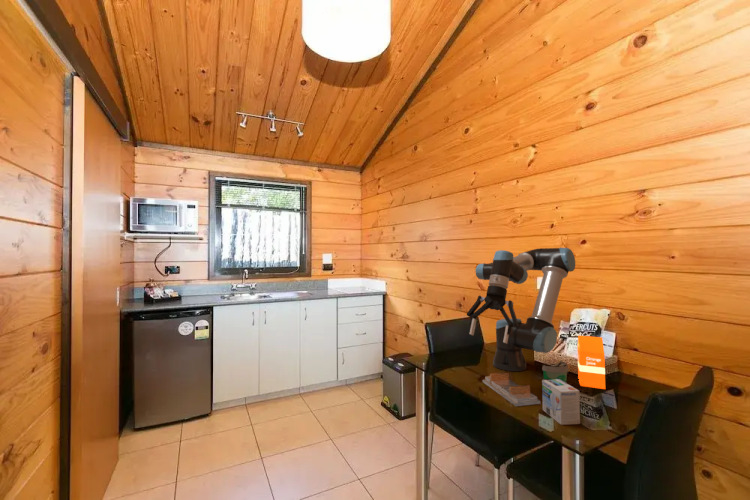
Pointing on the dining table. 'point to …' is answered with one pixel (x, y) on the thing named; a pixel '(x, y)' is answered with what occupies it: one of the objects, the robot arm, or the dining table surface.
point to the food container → (556, 371)
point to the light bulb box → (561, 401)
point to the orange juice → (591, 362)
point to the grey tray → (511, 390)
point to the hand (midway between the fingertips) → (487, 338)
